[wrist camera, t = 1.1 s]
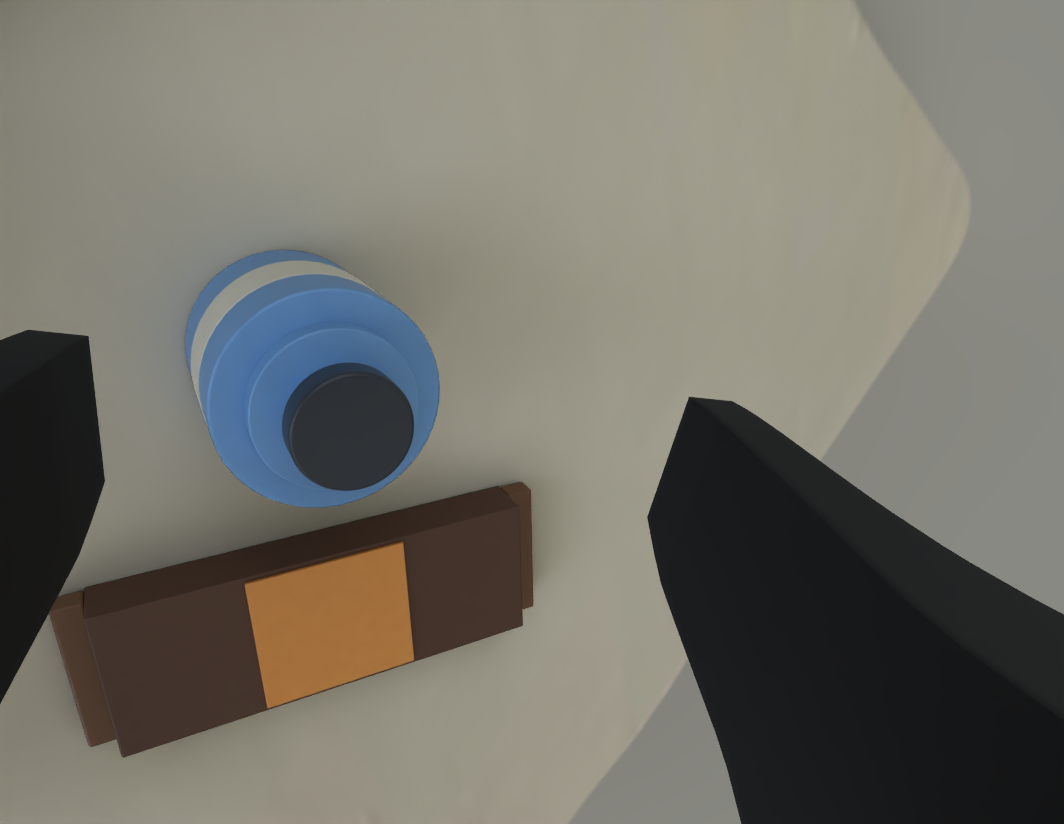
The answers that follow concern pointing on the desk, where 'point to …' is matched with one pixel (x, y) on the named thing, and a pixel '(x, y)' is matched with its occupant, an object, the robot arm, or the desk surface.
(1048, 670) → the robot arm
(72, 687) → the snack bar
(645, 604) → the desk surface
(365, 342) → the bottle
